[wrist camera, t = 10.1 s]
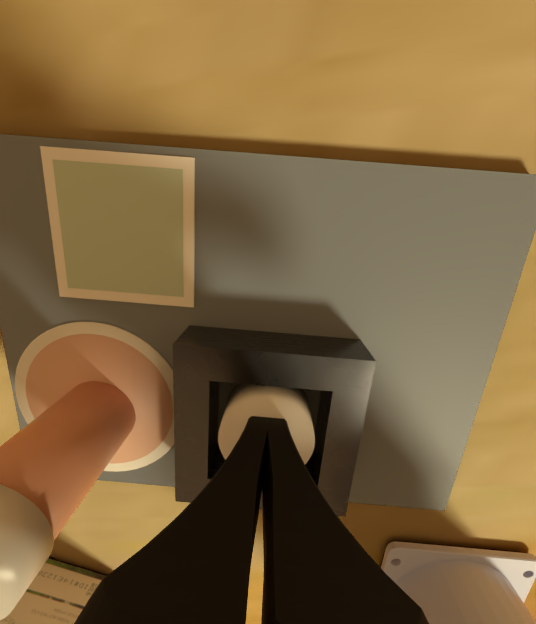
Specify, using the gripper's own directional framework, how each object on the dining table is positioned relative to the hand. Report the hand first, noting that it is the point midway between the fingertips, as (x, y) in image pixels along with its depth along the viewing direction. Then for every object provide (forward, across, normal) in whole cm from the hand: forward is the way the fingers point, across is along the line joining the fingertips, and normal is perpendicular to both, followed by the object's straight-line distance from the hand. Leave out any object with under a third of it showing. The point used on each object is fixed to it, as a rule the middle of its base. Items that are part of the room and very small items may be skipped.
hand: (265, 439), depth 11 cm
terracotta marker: (+2, +8, +1) cm, 8 cm away
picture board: (+3, +1, -2) cm, 4 cm away
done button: (+2, 0, 0) cm, 2 cm away
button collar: (+3, 0, 0) cm, 3 cm away
